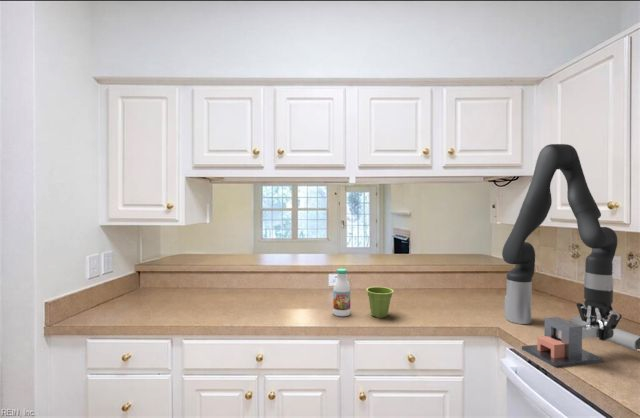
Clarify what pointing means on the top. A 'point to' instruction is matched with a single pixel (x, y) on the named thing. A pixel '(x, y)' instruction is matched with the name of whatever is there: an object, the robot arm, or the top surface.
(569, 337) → the bearing block
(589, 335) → the shaft
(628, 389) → the top surface
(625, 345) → the tube
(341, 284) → the milk bottle
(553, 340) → the block
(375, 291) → the plant pot
